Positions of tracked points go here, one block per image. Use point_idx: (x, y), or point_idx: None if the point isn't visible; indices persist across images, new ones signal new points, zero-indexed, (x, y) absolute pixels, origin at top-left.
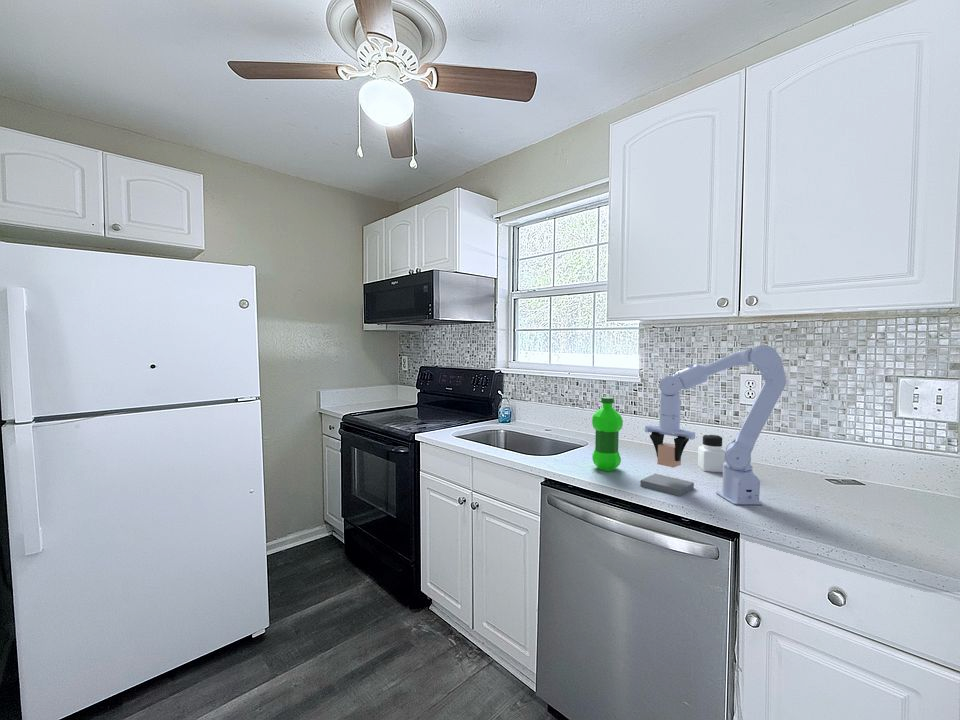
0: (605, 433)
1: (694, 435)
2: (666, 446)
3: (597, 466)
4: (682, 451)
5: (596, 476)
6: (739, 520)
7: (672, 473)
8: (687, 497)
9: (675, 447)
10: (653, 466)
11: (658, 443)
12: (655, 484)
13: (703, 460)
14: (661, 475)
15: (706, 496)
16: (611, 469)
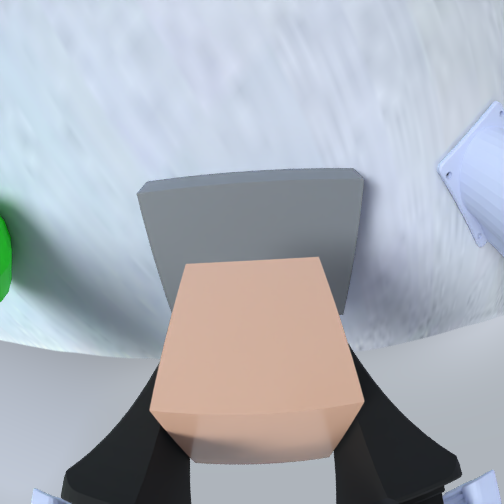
0: None
1: (490, 496)
2: (265, 463)
3: None
4: (372, 384)
5: (52, 317)
6: (467, 320)
7: (146, 8)
8: (360, 288)
9: (337, 458)
10: (33, 14)
11: (185, 464)
12: None
13: None
14: (179, 199)
15: (412, 230)
16: (10, 244)
